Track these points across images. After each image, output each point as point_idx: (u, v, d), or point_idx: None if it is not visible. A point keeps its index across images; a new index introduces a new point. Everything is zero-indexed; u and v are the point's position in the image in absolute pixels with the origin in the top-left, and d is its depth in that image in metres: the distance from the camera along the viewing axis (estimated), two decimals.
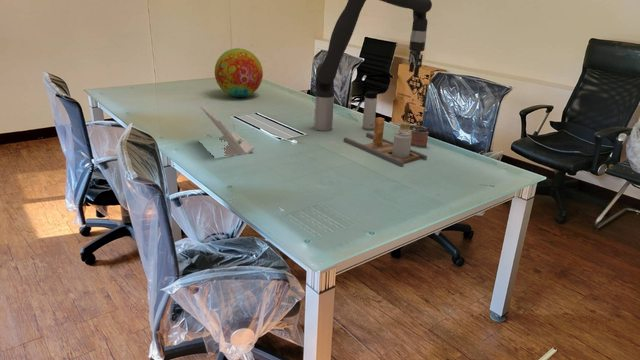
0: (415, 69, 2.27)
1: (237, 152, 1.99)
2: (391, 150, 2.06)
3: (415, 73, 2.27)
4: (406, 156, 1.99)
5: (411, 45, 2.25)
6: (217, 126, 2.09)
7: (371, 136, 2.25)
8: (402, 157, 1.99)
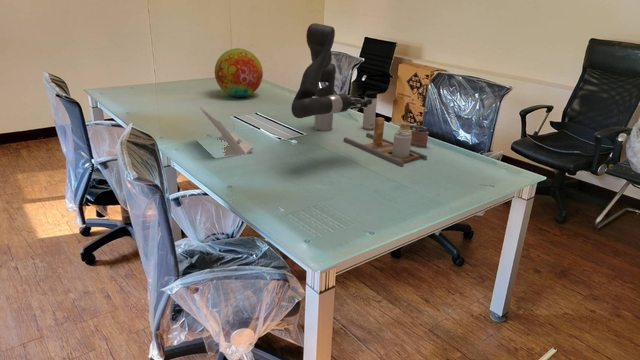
0: (352, 96, 1.99)
1: (236, 152, 1.99)
2: (391, 150, 2.06)
3: None
4: (406, 156, 1.99)
5: None
6: (216, 126, 2.09)
7: (371, 136, 2.25)
8: (402, 157, 1.99)
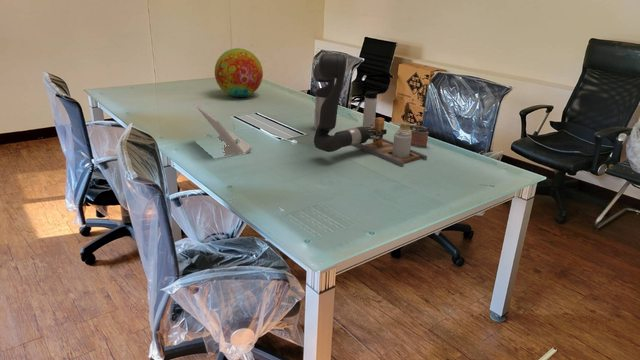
0: None
1: (235, 152, 1.99)
2: (391, 150, 2.06)
3: None
4: (406, 156, 1.99)
5: (357, 127, 2.03)
6: (214, 126, 2.08)
7: None
8: (402, 157, 1.99)
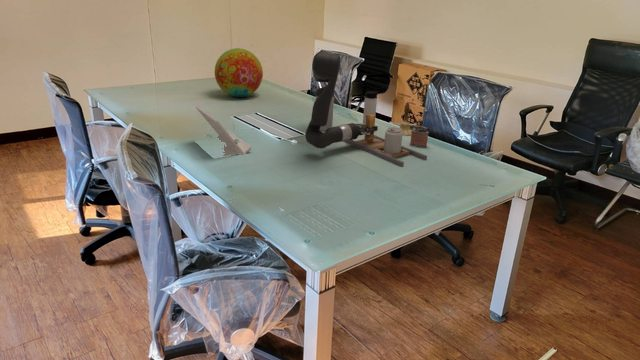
0: None
1: (234, 152, 1.99)
2: (382, 146, 2.10)
3: None
4: (397, 152, 2.03)
5: None
6: (213, 126, 2.08)
7: None
8: (394, 153, 2.02)
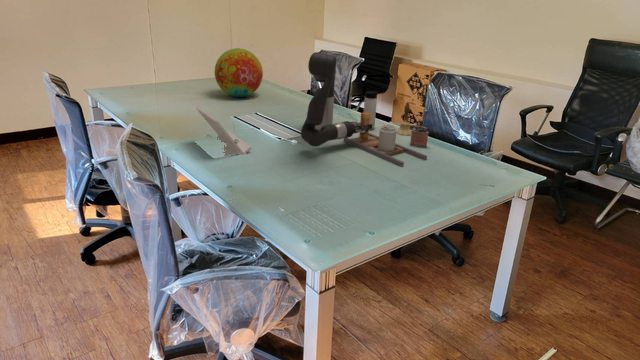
0: None
1: (234, 152, 1.99)
2: (376, 144, 2.13)
3: None
4: (392, 150, 2.05)
5: None
6: (213, 126, 2.08)
7: None
8: (388, 151, 2.05)
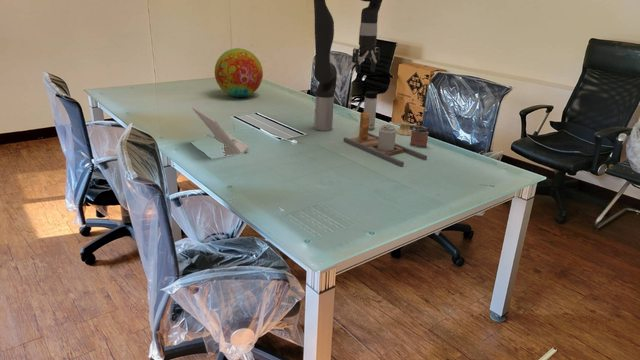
0: None
1: (232, 152, 1.99)
2: (376, 144, 2.13)
3: (355, 70, 2.00)
4: (391, 150, 2.06)
5: None
6: (209, 127, 2.08)
7: None
8: (387, 151, 2.05)
